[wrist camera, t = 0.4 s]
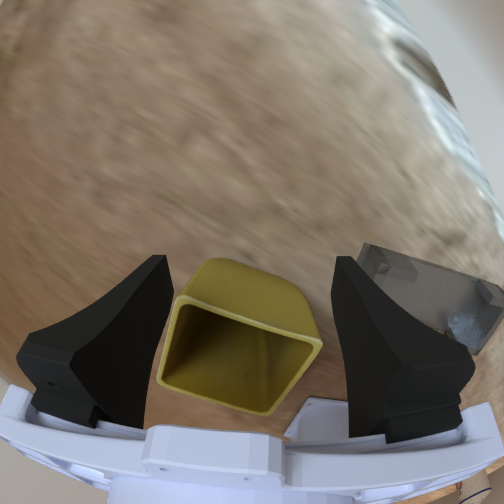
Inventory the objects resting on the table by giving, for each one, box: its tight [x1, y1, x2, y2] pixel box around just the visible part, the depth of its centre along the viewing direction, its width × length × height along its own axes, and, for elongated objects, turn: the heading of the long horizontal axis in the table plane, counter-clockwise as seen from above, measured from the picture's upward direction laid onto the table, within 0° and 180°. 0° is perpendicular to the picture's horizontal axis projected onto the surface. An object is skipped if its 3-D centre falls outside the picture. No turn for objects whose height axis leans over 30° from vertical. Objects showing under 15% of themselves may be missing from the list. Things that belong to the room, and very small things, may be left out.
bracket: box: [356, 243, 504, 356], centre depth 23 cm, size 7×16×4 cm, turn 76°
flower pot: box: [156, 258, 323, 416], centre depth 22 cm, size 9×9×9 cm
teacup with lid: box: [456, 469, 491, 504], centre depth 43 cm, size 12×9×12 cm
